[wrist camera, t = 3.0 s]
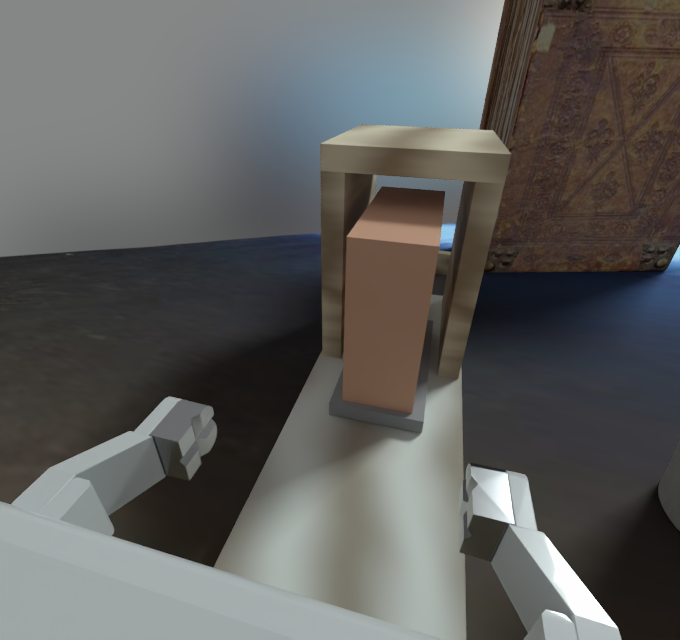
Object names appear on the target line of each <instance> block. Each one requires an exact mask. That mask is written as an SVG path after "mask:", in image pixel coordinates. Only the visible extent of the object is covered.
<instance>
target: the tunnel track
mask: <svg viewBox="0 0 680 640" xmlns="http://www.w3.org/2000/svg"><path fill="white" fill-rule="evenodd" d="M320 156H321V158H320V161H321V162H320V165H321V264H322V351H321V353H320V355H319V357H318V359H317V361H316V363H315V365H314V367H313V369H312V371H311V373H310V375H309V377H308V379H307V381H306V383H305V385H304V387H303V389H302V391H301V393H300V395H299V397H298V399H297V401H296V403H295V405H294V407H293V409H292V411H291V413H290V415H289V417H288V419H287V421H286V423H285V425H284V427H283V429H282V431H281V433H280V435H279V437H278V439H277V441H276V443H275V445H274V447H273V449H272V451H271V453H270V455H269V457H268V459H267V461H266V463H265V465H264V467H263V469H262V471H261V473H260V475H259V477H258V479H257V481H256V483H255V485H254V487H253V489H252V491H251V493H250V495H249V497H248V499H247V501H246V503H245V505H244V507H243V509H242V511H241V513H240V515H239V517H238V519H237V521H236V523H235V525H234V527H233V529H232V531H231V533H230V535H229V537H228V539H227V541H226V543H225V545H224V547H223V549H222V551H221V553H220V555H219V557H218V559H217V561H216V563H215V565H214V567H213V568H216V569H219V570H222V571H226V572H229V573H232V574H235V575H238V576H242V577H245V578H248V579H251V580H254V581H258V582H261V583H264V584H267V585H270V586H274V587H277V588H280V589H283V590H286V591H290V592H293V593H296V594H299V595H302V596H306V597H309V598H312V599H315V600H318V601H322V602H325V603H328V604H331V605H335V606H338V607H341V608H344V609H347V610H351V611H354V612H357V613H360V614H363V615H367V616H370V617H373V618H376V619H379V620H383V621H386V622H389V623H392V624H395V625H399V626H402V627H405V628H408V629H411V630H415V631H418V632H421V633H424V634H427V635H431V636H434V637H437V638H440V639H443V640H466V598H465V554H463V553H460V552H459V527H460V524H461V521H462V518H461V517H460V515H459V495H460V489H461V485H462V481H463V431H462V376H461V365H462V361H463V356H464V352H465V348H466V344H467V340H468V335H469V331H470V327H471V323H472V319H473V314H474V310H475V306H476V302H477V297H478V293H479V289H480V285H481V281H482V276H483V272H484V268H485V264H486V260H487V255H488V251H489V247H490V243H491V238H492V234H493V230H494V226H495V222H496V217H497V213H498V209H499V205H500V201H501V196H502V192H503V188H504V184H505V179H506V175H507V171H508V167H509V163H510V158H511V153H510V152H509V150H508V149H507V148H506V146H505V145H504V144H503V142H502V141H501V140H500V139H499V137H498V136H497V135H496V133H495V132H494V131H493V130H475V129H452V128H428V127H406V126H383V125H360V126H358V127H356V128H353V129H351V130H349V131H347V132H345V133H343V134H340V135H338V136H336V137H334V138H332V139H330V140H327V141H325V142H323V143H321V144H320ZM376 175H387V176H400V177H414V178H429V179H443V180H458V181H464V184H463V190H462V195H461V201H460V206H459V211H458V217H457V222H456V228H455V233H454V239H453V244H452V250H451V252H449V251H440V250H439V252H438V258H437V265H436V271H435V277H434V283H433V289H432V295H431V301H430V307H429V314H428V320H432V321H433V330H432V340H431V351H430V361H429V372H428V382H427V393H426V403H425V414H424V423H423V428H422V433H418V432H413V431H409V430H404V429H399V428H394V427H389V426H384V425H379V424H374V423H369V422H364V421H360V420H355V419H350V418H345V417H340V416H335V415H330V414H329V402H330V399H331V397H332V394H333V392H334V389H335V387H336V384H337V382H338V379H339V377H340V374H341V372H342V369H343V354H344V317H345V279H346V242H347V236H348V234H349V233H350V231H351V230H352V228H353V227H354V226H355V224H356V223H357V221H358V220H359V219H360V217H361V216H362V214H363V213H364V211H365V210H366V209H367V207H368V206H369V204H370V203H371V202H372V200H373V199H374V197H375V190H376Z"/></svg>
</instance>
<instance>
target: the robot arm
mask: <svg viewBox="0 0 680 640" xmlns="http://www.w3.org/2000/svg"><path fill="white" fill-rule="evenodd" d="M213 415H214V412H213V408H212V407H211V406H207V405H203V404H199V403H195V402H191V401H187V400H183V399H179V398H175V397H170V396H169V397H167V398H165V399H164V400H163V401H162V402H161V403H160V404H159V405H158V406H157V407H156V408H155V409H154V410H153V411H152V413H151V414H150V415H149V416H148V417H147V418H146V419H145V420H144V421H143V422H142V423H141V424H140V425H139V426H138V428H137V429H136V430H135V431H134V432H132V431H128V432H126V433H124V434H122V435H120V436H118V437H115V438H113V439H111V440H109V441H107V442H105V443H102V444H100V445H98V446H96V447H94V448H91V449H89V450H87V451H85V452H83V453H81V454H78V455H76V456H74V457H72V458H70V459H68V460H65V461H63V462H61V463H59V464H57V465H55V466H52V467H50V468H49V469H48V470H47V471H46V472H45V473H44V474H42V475H41V476H40V477H39V478H38V479H37V480H36V481H35V482H34V483H33V484H32V485H31V486H30V487H29V488H28V489H27V490H25V491H24V492H23V493H22V494H21V495H20V496H19V497H18V498H17V499H16V500H15V501H14V502H13V503H12V504H11V505H10V504H7V503H4V502H1V501H0V640H443V639H440V638H437V637H434V636H431V635H427V634H424V633H421V632H418V631H415V630H411V629H408V628H405V627H402V626H399V625H395V624H392V623H389V622H386V621H383V620H379V619H376V618H373V617H370V616H367V615H363V614H360V613H357V612H354V611H351V610H347V609H344V608H341V607H338V606H335V605H331V604H328V603H325V602H322V601H318V600H315V599H312V598H309V597H306V596H302V595H299V594H296V593H293V592H290V591H286V590H283V589H280V588H277V587H274V586H270V585H267V584H264V583H261V582H258V581H254V580H251V579H248V578H245V577H242V576H238V575H235V574H232V573H229V572H226V571H222V570H219V569H216V568H213V567H209V566H206V565H203V564H200V563H197V562H193V561H190V560H187V559H184V558H181V557H177V556H174V555H171V554H168V553H164V552H161V551H158V550H155V549H152V548H148V547H145V546H142V545H139V544H136V543H132V542H129V541H126V540H123V539H119V538H116V537H113V536H112V535H113V533H114V527H113V525H112V523H111V521H110V519H109V517H108V516H109V515H110V514H112V513H113V512H115V511H116V510H118V509H119V508H121V507H122V506H123V505H125V504H126V503H128V502H129V501H131V500H132V499H134V498H135V497H137V496H138V495H140V494H141V493H143V492H144V491H145V490H147V489H148V488H150V487H151V486H153V485H154V484H156V483H157V482H159V481H160V480H162V479H163V478H164V477H165V475H167V476H171V477H176V478H180V479H184V480H188V481H190V479H191V478H192V477H193V475H194V474H195V472H196V471H197V469H198V468H199V466H200V465H201V456H203V455H205V454H207V453H208V452H209V451H210V450H211V448H212V447H213V445H214V442H215V439H216V437H217V426H216V423H215V422H214V421H213V420H212V419H211V418H212V417H213ZM459 515H460V517H461V518H462V521H461V524H460V527H459V552H460V553H463V554H466V555H470V556H473V557H477V558H480V559H483V560H487V561H490V562H491V565H492V566H493V568H494V570H495V572H496V574H497V576H498V578H499V580H500V581H501V583H502V585H503V587H504V589H505V591H506V593H507V595H508V596H509V598H510V600H511V602H512V604H513V606H514V608H515V610H516V612H517V613H518V615H519V617H520V619H521V621H522V623H523V625H524V627H525V628H526V630H527V632H528V634H527V635H526V637H525V638H524V639H523V640H621V636H620V633H619V630H618V627H617V626H616V625H615V624H614V622H613V621H612V620H611V618H610V617H609V616H608V615H607V613H606V612H605V611H604V610H603V608H602V607H601V606H600V604H599V603H598V602H597V601H596V599H595V598H594V597H593V595H592V594H591V593H590V592H589V590H588V589H587V588H586V586H585V585H584V584H583V583H582V581H581V580H580V579H579V577H578V576H577V575H576V574H575V572H574V571H573V570H572V568H571V567H570V566H569V565H568V563H567V562H566V561H565V559H564V558H563V557H562V556H561V554H560V553H559V552H558V551H557V549H556V548H555V547H554V545H553V544H552V543H551V542H550V540H549V539H548V538H547V536H546V535H545V534H544V533H543V532H540V531H537V525H536V520H535V515H534V510H533V504H532V499H531V494H530V489H529V483H528V478H527V477H526V475H524V474H520V473H515V472H511V471H505V470H503V469H498V468H493V467H488V466H484V465H479V464H474V463H469V464H468V466H467V469H466V479H465V480H463V481H462V485H461V489H460V495H459Z"/></svg>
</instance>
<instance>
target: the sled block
mask: <svg viewBox="0 0 680 640" xmlns="http://www.w3.org/2000/svg"><path fill="white" fill-rule="evenodd" d="M444 197H445V191H433V190H420V189H406V188H394V187H382V188H381V189H380V190H379V192H378V193H377V195H376V196H375V197H374V199H373V200H372V202H371V203H370V204H369V206H368V207H367V209H366V210H365V211H364V213H363V214H362V216H361V217H360V219H359V220H358V221H357V223H356V224H355V226H354V227H353V228H352V230H351V231H350V233H349V234H348V236H347V242H346V279H345V317H344V354H343V369H342V372H341V374H340V377H339V379H338V382H337V384H336V387H335V389H334V392H333V394H332V397H331V399H330V402H329V414H330V415H335V416H340V417H345V418H350V419H355V420H360V421H364V422H369V423H374V424H379V425H384V426H389V427H394V428H399V429H404V430H409V431H413V432H418V433H422V428H423V423H424V414H425V403H426V393H427V382H428V372H429V361H430V351H431V340H432V330H433V321H432V320H428V314H429V307H430V301H431V295H432V289H433V283H434V277H435V271H436V265H437V258H438V252H439V246H440V236H441V226H442V216H443V207H444Z"/></svg>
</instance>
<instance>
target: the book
mask: <svg viewBox="0 0 680 640" xmlns="http://www.w3.org/2000/svg"><path fill="white" fill-rule="evenodd" d="M479 130H493V131H494V132H495V133H496V135H497V136H498V137H499V139H500V140H501V141H502V142H503V144H504V145H505V146H506V148H507V149H508V150H509V152H510V153H511V158H510V163H509V167H508V171H507V175H506V179H505V184H504V188H503V192H502V196H501V201H500V205H499V209H498V213H497V217H496V222H495V226H494V230H493V234H492V238H491V243H490V247H489V251H488V255H487V260H486V264H485V268H484V273H486V272H588V271H665V270H666V269H667V268H668V266H669V264H670V262H671V260H672V258H673V256H674V254H675V252H676V250H677V248H678V247H679V245H680V0H505V2H504V7H503V12H502V17H501V23H500V28H499V33H498V38H497V43H496V48H495V53H494V58H493V63H492V68H491V73H490V78H489V84H488V88H487V94H486V99H485V104H484V109H483V114H482V120H481V124H480V129H479Z"/></svg>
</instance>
